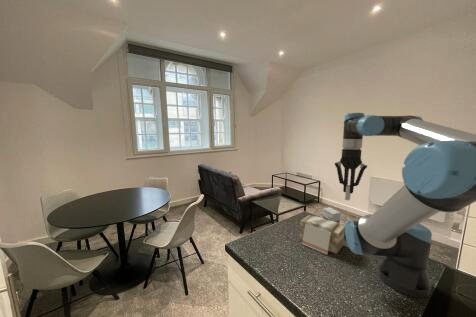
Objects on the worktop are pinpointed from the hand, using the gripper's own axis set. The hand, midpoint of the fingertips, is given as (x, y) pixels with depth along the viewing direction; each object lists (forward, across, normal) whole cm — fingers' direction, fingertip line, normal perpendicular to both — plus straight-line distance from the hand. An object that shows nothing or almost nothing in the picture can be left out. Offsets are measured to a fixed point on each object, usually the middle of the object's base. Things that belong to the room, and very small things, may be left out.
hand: (347, 199), depth 90 cm
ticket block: (+24, +10, +2) cm, 26 cm away
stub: (+20, +10, +8) cm, 24 cm away
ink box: (+24, +10, -14) cm, 30 cm away
